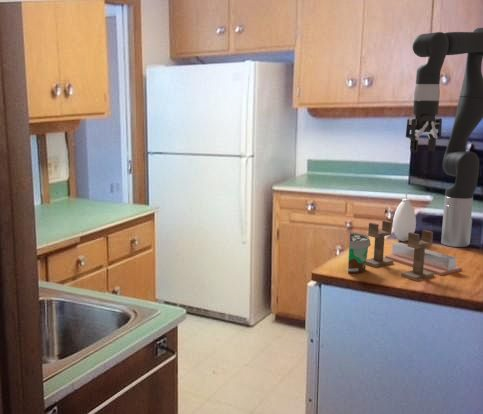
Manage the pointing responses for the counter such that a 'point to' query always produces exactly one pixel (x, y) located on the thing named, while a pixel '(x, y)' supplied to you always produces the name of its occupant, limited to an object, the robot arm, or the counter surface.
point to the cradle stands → (412, 242)
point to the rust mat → (425, 267)
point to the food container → (358, 253)
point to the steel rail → (426, 257)
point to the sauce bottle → (404, 220)
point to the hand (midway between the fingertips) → (422, 151)
